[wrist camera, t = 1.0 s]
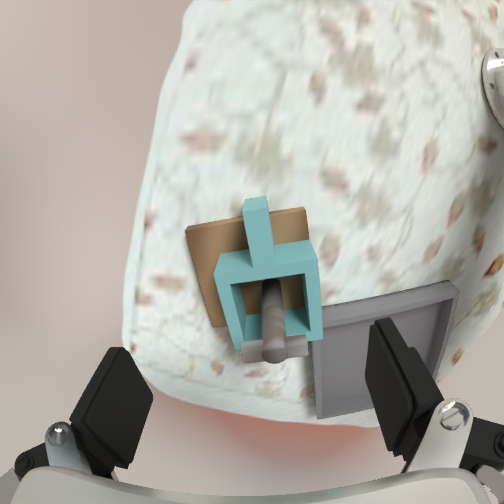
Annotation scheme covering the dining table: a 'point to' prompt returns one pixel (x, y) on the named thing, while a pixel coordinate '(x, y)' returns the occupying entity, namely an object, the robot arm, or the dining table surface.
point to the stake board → (253, 282)
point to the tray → (357, 336)
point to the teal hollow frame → (265, 267)
